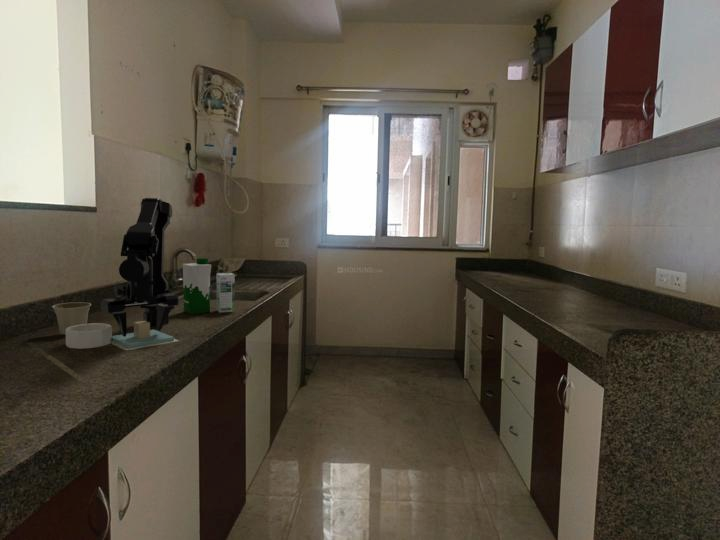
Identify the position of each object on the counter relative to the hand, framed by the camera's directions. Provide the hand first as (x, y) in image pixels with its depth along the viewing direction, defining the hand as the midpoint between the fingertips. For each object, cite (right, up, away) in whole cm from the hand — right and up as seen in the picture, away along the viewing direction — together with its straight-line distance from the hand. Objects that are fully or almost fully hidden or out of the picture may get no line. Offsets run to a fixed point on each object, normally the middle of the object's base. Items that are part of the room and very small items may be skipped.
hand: (141, 333), depth 122 cm
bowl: (-12, -3, -4) cm, 13 cm away
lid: (0, -2, 0) cm, 2 cm away
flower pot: (-23, -2, +7) cm, 24 cm away
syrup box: (+8, +1, +48) cm, 49 cm away
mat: (0, -3, 0) cm, 3 cm away
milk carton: (-1, +1, +45) cm, 45 cm away
